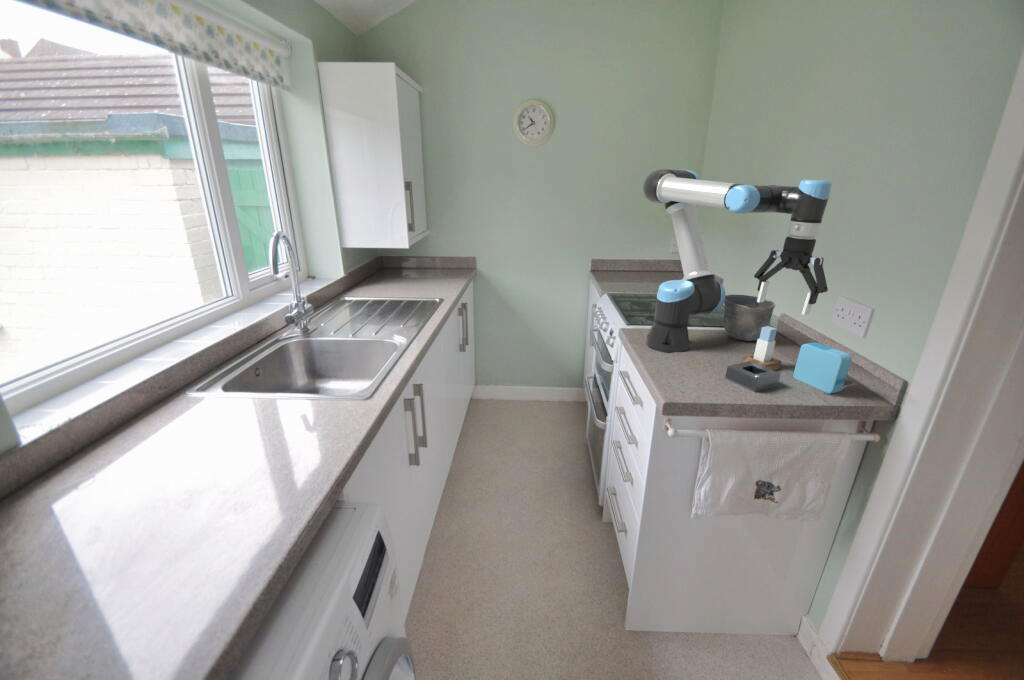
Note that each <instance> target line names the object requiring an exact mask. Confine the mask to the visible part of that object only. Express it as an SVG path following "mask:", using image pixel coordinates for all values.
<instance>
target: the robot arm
mask: <svg viewBox="0 0 1024 680" xmlns="http://www.w3.org/2000/svg"><path fill="white" fill-rule="evenodd" d="M642 187H643V188H642V190H643V194H644V196H645V197H646V199H647V200H648V201H650V202H652V203H656V204H664V208H665V212H666V213H668V214H670V215H671V220H672V221H671V222H672V225H673V230H674V231H673V232H674V233H675V240H676V244H677V248H678V254H679V258H680V259H679V260H680V264H681V269H682V273H683V277H682V278H681V279H672V280H667V281H664V282H662V283H661V284H660V285H659V287H658V291H657V294H656V302H655V309H654V310H655V311H654V317H653V318H654V319H653V322H652V326H651V327H650V329H649V332H648V334H647V335H646V339H645V344H646V346H647V347H649V348H651V349H653V350H655V351H659V352H664V353H672V354H674V353H682V352H687V351H689V350H690V347H691V341H690V338H689V330H688V326H689V320H690V317H693V316H694V317H695V316H699V315H708V314H711V313H715V312H717V311H718V310H719V309H721V308H722V306H723V304H724V300H725V296H726V290H725V287H724V285H723V284H722V283H720V282H719V281H717V280H716V276H715V273H713V272H711V271H710V270H709V265H708V261H707V255H706V251H705V246H704V241H703V236H702V232H701V228H700V224H699V223H700V222H699V218H698V211H697V209H696V208H697V206H702V207H709V208H714V209H721V210H727V211H728V210H729V211H730V212H732V213H735V214H749V213H750V214H751V213H757V214H758V213H759V214H760V213H777V214H779V213H780V214H788V215H791V216H790V220H789V225H788V229H787V232H786V234H787V236H786V237H785V240H784V244H783V247H782V249H783V250H782V251H779V249H775V250H771V251H770V252H769V253H770V254H769V256H768V258H766V260H765V261H764V262H763V264H762V265H761V266H760V267H759V269H758V270H757V271H756V273H755V274H754V275H753V277H754V278H755V279H757V280H758V284H757V285H758V286H757V291H758V295H757V297H758V299H757V302H759V303H760V302H764V300H766V296H767V292H768V287H769V283H770V281H769V279H770V278H771V277H773V276H774V275H776V274H777V273H778V272H779V271H781V270H782V269H784V268H785V269H787V270H789V269H791V270H793V271H799V273H800V274H801V275H802V277H803V279H804V281H805V282H806V285H807V286H808V288H809V291H810V292H809V291H808V292H807V295H806V299H805V301H804V304H803V309H802V312H801V316H802V315H803V316H806V315H809V314H810V312H811V309H812V306H813V305H815V304H816V303H817V300H818V296H819V294H823V293H827V292H828V290H829V288H828V284H827V280H826V276H825V275H826V274H825V271H824V266H823V265H824V257H813V253H814V251H815V246H816V243H817V240H816V238H817V237H818V236H819V233H820V229H821V225H822V221H823V218H824V216H825V215H824V214H825V210H826V207H827V203H828V201H829V200H830V194H831V191H832V190H831V189H832V182H831V181H830V180H826V179H823V180H821V179H802V180H800V182H799V184H798V186H789V185H788V186H787V185H776V184H767V185H759V184H756V185H755V184H745V183H734V182H724V181H717V180H716V181H715V180H706V179H705V180H704V179H701V177H700V175H699V174H698V173H697V172H695V171H693V170H688V169H669V168H667V169H665V168H664V169H663V168H662V169H656V170H653V171H652V172H651V173H649V174H648V175H647V176H646V178H645V180H644V181H643V186H642ZM778 258H779V259H781V261H779V263H777V264H776V265H775V266H774V267H772V268H771V266H772V265H773V264H774V262H775V261H776V260H777V259H778ZM810 263H811V265H812V266H813V271H814V275H813V273H812V272H811V267H810V265H809V264H810ZM769 268H771V269H770V270H769ZM814 276H815V277H814Z"/></svg>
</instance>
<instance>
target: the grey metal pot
mask: <svg viewBox="0 0 1024 680" xmlns="http://www.w3.org/2000/svg"><path fill="white" fill-rule="evenodd" d="M757 299H758V296H754V295H745V294H728V295H726V294H725V300H724V303H723V304H724V313H723V320H722V324H723V328H724V330H725V332H726V333H727V334H728V335H729V336H730V337H732V338H734V339H736V340H738V341H739V340H740V341H743V342H753V341H757V340H758V339H759V338H760V334H761V329H762V327H766V326H769V327H770V324H771V320H772V317H773V312H774V309H775V308H776V303H775V302H774V301H772V300H768V299H765V300H764V302H760V303H759V302H757Z"/></svg>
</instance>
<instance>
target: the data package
mask: <svg viewBox="0 0 1024 680" xmlns="http://www.w3.org/2000/svg"><path fill="white" fill-rule="evenodd" d="M852 361H853V358H852V356H851V354H849V353H848V352H845V351H842V350H839V349H836V348H834V347H831V346H827V345H824V344H822V343H819V342H815V341H814V342H810V343H809V342H808V343H802V345H801V346H800V350H799V352H798V356H797V359H796V363H795V368H794V371H793V376H792V377H793V379H795V380H798V381H800V382H802V383H805V384H806V385H809V386H812V387H814V388H815V389H818V390H821V391H823V394H826V395H831V394H834V393H839V392H841V391H842V390H843V388H844V386H845V381H846V379H847V376H848V373H849V370H850V367H851V363H852Z"/></svg>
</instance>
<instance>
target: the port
mask: <svg viewBox="0 0 1024 680" xmlns="http://www.w3.org/2000/svg"><path fill="white" fill-rule="evenodd" d="M780 377H781V372H778V371H776V370H771V369H768V368H766V367H763V366H761V365H759V364H756V363H754V362H751V361H748V362H743V363H741V362H739V363H736V364H731V365H727V368H726V371H725V376H724V379H726V380H728V381H730V382H731V383H732V382H733V383H734V384H736V385H739V386H740V387H743V388H745V389H747V390H749V391H751V392H753V393H757V392H761V391H764V390H768V389H771V388H775V387H778V385H779V382H780Z"/></svg>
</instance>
